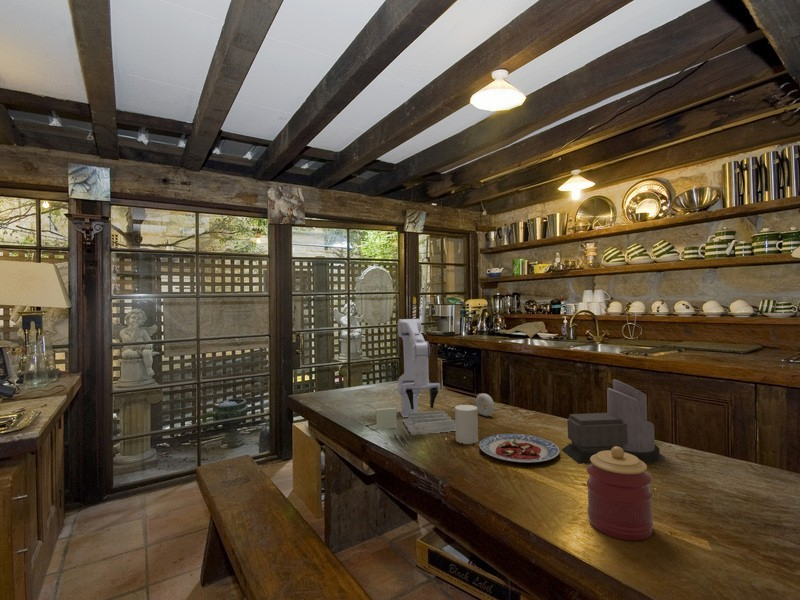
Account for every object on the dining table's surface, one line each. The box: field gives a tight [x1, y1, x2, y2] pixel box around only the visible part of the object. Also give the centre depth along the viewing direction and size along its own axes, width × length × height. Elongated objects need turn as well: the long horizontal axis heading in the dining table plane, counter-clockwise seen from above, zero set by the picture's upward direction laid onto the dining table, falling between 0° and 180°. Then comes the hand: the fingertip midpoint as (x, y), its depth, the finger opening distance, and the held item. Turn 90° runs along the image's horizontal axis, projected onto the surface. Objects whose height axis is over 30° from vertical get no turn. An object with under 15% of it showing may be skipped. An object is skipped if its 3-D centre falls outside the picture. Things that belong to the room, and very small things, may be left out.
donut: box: [475, 393, 495, 417], centre depth 179 cm, size 10×4×10 cm, turn 35°
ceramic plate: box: [478, 433, 560, 463], centre depth 136 cm, size 26×26×3 cm
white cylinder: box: [454, 404, 479, 445], centre depth 149 cm, size 8×8×12 cm
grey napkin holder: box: [561, 379, 666, 465], centre depth 132 cm, size 30×16×24 cm, turn 93°
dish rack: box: [402, 410, 456, 436], centre depth 166 cm, size 18×20×4 cm
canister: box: [586, 446, 654, 542], centre depth 91 cm, size 13×13×18 cm
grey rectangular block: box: [375, 407, 398, 431], centre depth 165 cm, size 2×8×8 cm, turn 100°
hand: (422, 408), depth 156 cm, fingers open, 7 cm apart
